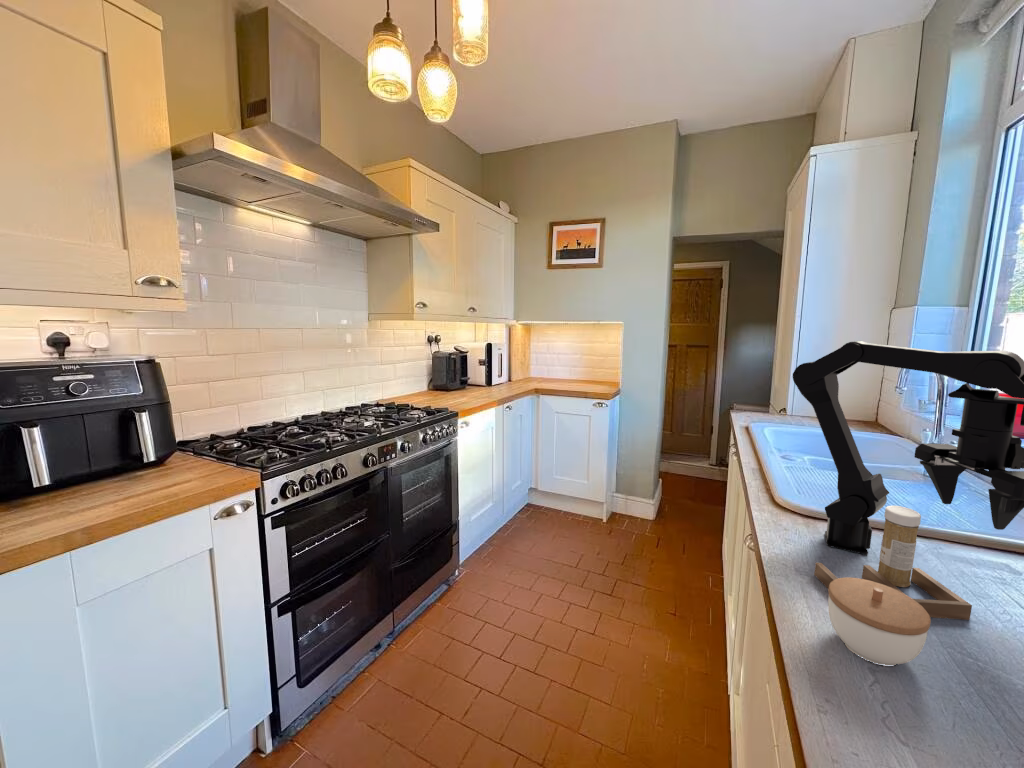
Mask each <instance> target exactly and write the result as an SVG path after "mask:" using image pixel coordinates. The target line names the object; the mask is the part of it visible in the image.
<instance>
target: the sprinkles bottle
mask: <svg viewBox="0 0 1024 768" xmlns="http://www.w3.org/2000/svg"><path fill="white" fill-rule="evenodd" d="M921 518H922V516H921V514H920V513H919V512H918V511H916V510H914V509H912V508H910V507H909V508H908V507H904V506H902V505H901V506H900V505H888V506H886V507H885V508H884V519H885V521H884V528H883V534H882V539H881V545H880V553H879V561H878V562H879V563H878V570H876V571H877V572H878V573H880V574H881V575H882V576H883V577H884V578H886V579H887V580H888V581H889V582H891V583H892V584H893V585H894V586H896V587H897V588H899V587H900V588H908V587H910V586H911V584H912V583H911V575H912V568H914V567H913V565H914V560H915V553H916V547H917V537H918V536H917V535H918V530H919V527H920V526H921V520H922V519H921Z"/></svg>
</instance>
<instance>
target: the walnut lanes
mask: <svg viewBox="0 0 1024 768" xmlns="http://www.w3.org/2000/svg"><path fill="white" fill-rule="evenodd" d="M814 566H815V567H814V575H813V576H814V577H816V579H817V580H818V581H820V582H821V584H822V585H823V586H824V587H825V588H826V589H827V590H828V589H829V584H830V583H831V582H832V581H833V580H835V579H838V577H837V576H836V575H835V574H834V573H833V572H832V571H831V570H830V569H828V567H826V566H825V564H823V563H822V562H815V564H814ZM862 566H863V567H862V574H861V579H865V580H870V581H873V582H877V583H880V584H883V585H886V586H888V587H891V588H893V589H895V590H898V591H900V592H901V593H903V594H905V595H907V594H906V593H904V592H903V591H902V590H901V589H900V588H899V587H898V586H894V585H893V584H892V583H891V582H889V581H888V580H887V579H886V578H884V577H883V576H882V575H881V574H880V573H878V572H877V571H878V570H876V569H874V567H872V566H871V565H868V564H864V565H862ZM910 582H912V583H914V584H915V585H916V586H917V587H919V588H920V589H921V590H922V591H924V592H925V593H927V594H928V595H929V596H930V597H932V598H933V599H925V598H923V599H922V598H912V599H913V600H915V601H916V602H917V603H919V604H920V605H921V606H922V607H923V608H924V609H925V610H926V611H927V613H928V614H929V616H930V618H934V619H947V618H948V619H950V620H961V621H962V620H966V621H971V620H970V619H971V615H972V608H973V605H972V604H971V603H969V602H968V601H967V600H965V599H963V598H962V597H961V596H959V595H958V594H957V593H955V592H953V591H952V590H951V589H949V588H948V587H947V586H945V585H943V584H942V583H941V582H939V581H938V580H936V579H935V578H934V577H932V576H931V575H929V574H928V573H927V572H925V571H924V570H922V569H921V568H919V567H912V570H911V576H910Z"/></svg>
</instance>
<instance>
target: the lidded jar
mask: <svg viewBox="0 0 1024 768" xmlns="http://www.w3.org/2000/svg"><path fill="white" fill-rule="evenodd" d="M837 578H838V577H837ZM827 590H828V602H827V606H828V607H827V608H828V617H829V619H830V620H829V621H830V622H831V625H832V627H833V630H834V631H835V633H836V634H837V636H838V637H839V639H840V640H841V641H842V642H843V643H845V644H844V645H845V647H846V648H847V649H848V650H849V651H850V652H851V651H852V652H851V653H853V654H854V653H855V654H857V655H859V656H860V657H863V658H864V659H866V660H869V661H871V662H874V663H878V664H885V665H896V664H898V665H902V664H907V663H909V662H911V661H913V660H914V659H915V658H917V656H919V655H920V653H921V652H922V651H923V648H924V647H925V644H926V642H927V638H928V632H929V629H930V627H931V620H932V619H931V617H930V616H929V614H928V613H927V611H926V610H925V609H924V608H923V607H922V606H921V605H920V604H919V603H917V602H916V601H915V600H913V599H914V598H912V597H910V595H907V594H906V593H904V592H903V593H904V594H903V593H901V592H900V591H898V590H895V589H893V588H891V587H888V586H886V585H883V584H880V583H877V582H873V581H870V580H865V579H863V578H859V577H849V576H847V577H839V578H838V579H835V580H833V581H832V582H831V583H830V584H829V589H827ZM905 594H906V595H905ZM855 654H854V655H855ZM857 655H856V656H857ZM860 657H859V658H860ZM864 659H863V660H864ZM866 660H865V661H866ZM896 666H897V665H896Z"/></svg>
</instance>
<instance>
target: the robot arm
mask: <svg viewBox="0 0 1024 768" xmlns="http://www.w3.org/2000/svg"><path fill="white" fill-rule="evenodd" d="M858 363H864V364H871V365H876V366H884V367H891V368H897V369H905V370H913V371H918V372H919V371H920V372H927V373H934V374H939V375H941V376H945V377H947V378H949V379H953V380H956V381H959V382H961V383H963V384H962V385H961V386H960V387H958V388H957V389H956V390H953V391H951V392H949V393H948V394H947V396H948V397H949V398H955V399H964V403H963V406H962V407H963V408H962V413H961V415H962V416H961V422H960V427H959V428H952V430H951V436H955V437H958V439H957V440H958V441H957V445H956V446H955V445H952V444H949V443H920V444H918V445H917V446H915V451H914V458H915V459H917V460H919V464H920V465H922V466H923V468H924V469H925V471H926V473H927V475H928V477H929V478H930V480H931V482H932V484H933V486H934V488H935V490H936V492H937V494H938V496H939V498H940V500H941V503H942V504H943V505H951V504H952V502H953V499H954V497H955V493H956V489H957V484H958V481H959V477H960V475H962V473H964V472H965V471H966V470H968V471H971V472H973V473H977V474H979V475H982V476H985V477H988V478H990V484H991V485H992V486H993V488H988V497H989V506H990V512H991V514H990V515H991V520H992V526H993V528H994V529H995V530H999V531H1000V530H1001V531H1003V530H1005V529H1006V528H1007V527H1008V526H1009V525H1010V523H1011V522H1012V521H1013V520H1014V519H1015V518H1016V517H1017V515H1018V514H1019V513H1020V512H1021V511H1022V510H1023V509H1024V471H1023V470H1021V469H1024V447H1022V439H1021V437H1019V436H1016V435H1013V433H1014V426H1015V422H1016V417H1017V411H1018V405H1022V410H1021V416H1020V422H1019V423H1020V426H1021V427H1024V359H1023V358H1022V357H1020V356H1019V355H1018V354H1016V353H1014V352H1011V351H1006V350H966V351H964V350H963V351H962V350H961V351H943V350H932V349H923V348H915V347H906V346H896V345H890V344H889V345H888V344H879V343H870V342H866V341H864V340H863V341H862V340H856V341H855V340H854V341H849V342H846V343H844V344H843V345H842V346H840V347H839V348H838V349H835V350H834V351H832V352H829V353H828V354H826V355H823V356H821V357H820V358H818V359H816V360H813V361H809V362H803V363H801V364H798V366H797V367H795V369H794V371H793V373H792V380H793V383H794V384H795V386H796V389H798V391H799V392H800V394H801V396H802V397H803V398H804V399H805V400H806V401H807V402H808V403H810V405H811V406H812V408H813V410H814V413H815V416H816V418H817V422H818V423H819V427H820V429H821V431H822V434H823V437H824V439H825V442H826V445H827V447H828V450H829V453H830V455H831V457H832V460H833V463H834V465H835V468H836V470H837V494H838V498H837V499H835V500H834V501H832V502H831V503H828V505H826V506H825V507H824V511H825V514H826V517H827V526H826V530H825V531H824V535H825V542H826V543H825V544H826V546H828V547H830V548H836V549H840V550H844V551H848V552H853V553H857V554H861V555H866V556H867V555H868V553H869V552H868V550H869V549H871V542H872V537H873V536H872V534H873V529H872V527H871V526H872V525H870V521H869V518H870V517H872V516H874V515H875V514H876V513H878V512H879V511H880V510H881V509H883V507H884V506H885V505H886V504H887V501H888V497H887V496H888V495H889V494H890V492H889V490H888V489H887V488H886V486H885V483H884V481H883V475H882V474H881V473H876V474H872V473H871V471H870V470H869V469H868V468H867V467H866V465H865V464H864V461H863V460H862V455H861V454H860V452H859V449H858V446H857V444H856V441H855V439H854V436H853V434H852V431H851V429H850V426H849V424H848V422H847V418H846V417H845V413H844V411H843V408H842V406H841V403H840V401H839V390H840V389H839V387H840V386H839V380H838V375H840V374H841V373H843V372H845V371H847V370H848V369H850V368H852V367H853V366H855V365H856V364H858ZM971 385H973V386H977V387H981V388H985V389H981V388H973V387H972V386H971ZM990 389H991V390H990ZM993 389H995V390H993ZM996 389H997V390H996ZM998 390H999V391H998ZM999 392H1003V393H1004V394H1006V395H1007V396H1001V395H1000V393H999ZM1006 469H1010V470H1006ZM1020 470H1021V471H1020Z"/></svg>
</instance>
